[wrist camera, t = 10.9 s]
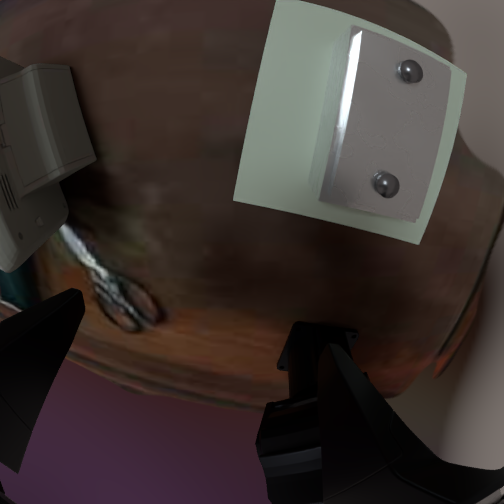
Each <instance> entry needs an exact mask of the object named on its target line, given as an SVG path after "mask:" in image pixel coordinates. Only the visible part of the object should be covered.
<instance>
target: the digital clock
mask: <svg viewBox="0 0 504 504" xmlns="http://www.w3.org/2000/svg"><path fill="white" fill-rule="evenodd" d="M94 154H95V153H94V150H93V147H92V144H91V141H90V138H89V135H88V132H87V129H86V126H85V123H84V119H83V116H82V113H81V109H80V106H79V102H78V99H77V95H76V91H75V87H74V83H73V79H72V75H71V71H70V66H68V65H57V64H33V65H30V66H28V67H26V68H24V67H22V66H20V65H18V64H16V63H14V62H11V61H9V60H7V59H5V58H3V57H1V56H0V269H1V270H3V271H5V272H7V273H10V272H13V271H14V270H15V269H17V268H18V267H19V266H20V265H21V264H22V263H23V262H25V261H26V260H27V259H28V257H30V256H31V255H32V254H33V253H34V252H35V251H36V250H37V249H38V248H39V247H40V246H41V245H42V244H43V243H44V242H45V241H46V240H47V239H48V238H49V237H50V236H52V235H53V234H54V233H55V232H56V231H57V230H58V229H59V228H60V227H61V226H62V225H63V224H64V223H65V221H66V219H67V217H68V213H69V209H68V205H67V202H66V200H65V197H64V195H63V192H62V190H61V187H60V184H59V182H60V181H61V180H63V179H65V178H66V177H68V176H70V175H71V174H73V173H75V172H77V171H78V170H80V169H82V168H84V167H85V166H87V165H89V164H91V163H93V162H95V161H96V160H97V159H96V156H95V155H94Z"/></svg>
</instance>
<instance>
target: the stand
mask: <svg viewBox="0 0 504 504" xmlns="http://www.w3.org/2000/svg"><path fill="white" fill-rule="evenodd" d="M351 24H352V25H356V26H359V27H362V28H365V29H368V30H371V31H373V32H376V33H379V34H381V35H384V36H387V37H389V38H392V39H394V40H396V41H399V42H401V43H403V44H406V45H408V46H410V47H412V48H414V49H417V50H419V51H421V52H423V53H425V54H427V55H429V56H431V57H433V58H434V59H436V60H438V61H440V62H442V63H444V64H446V65H447V66H449V67H450V70H451V71H452V72H451V82H450V90H449V97H448V104H447V110H446V116H445V121H444V126H443V132H442V136H441V141H440V146H439V150H438V154H437V158H436V162H435V166H434V170H433V174H432V177H431V181H430V184H429V188H428V191H427V194H426V198H425V201H424V204H423V207H422V210H421V213H420V216H419V219H416V222H415V223H412V222H408V221H404V220H401V219H397V218H393V217H389V216H384V215H380V214H376V213H372V212H368V211H363V210H359V209H354V208H350V207H345V206H341V205H336V204H331V203H326V202H321V201H318V200H317V198H316V196H315V194H314V192H313V191H312V189H311V187H310V185H309V184H308V177H309V173H310V168H311V163H312V159H313V154H314V149H315V144H316V139H317V134H318V129H319V124H320V118H321V113H322V108H323V102H324V97H325V91H326V86H327V80H328V74H329V68H330V62H331V56H332V50H333V43H334V41H335V40H336V39H337V38H338V37H339V36H340V35H341V34H342V33H343V32H344V31H345V30H346V29H347V28H348V27H349V26H350V25H351ZM466 76H467V74H466V73H465V72H463V71H462V70H461V69H459V68H458V67H456V66H454V65H453V64H451V63H450V62H448V61H447V60H445V59H443V58H442V57H440V56H438V55H437V54H435V53H433V52H431V51H430V50H428V49H426V48H424V47H422V46H421V45H419V44H417V43H415V42H413V41H411V40H409V39H407V38H405V37H403V36H401V35H399V34H396V33H394V32H392V31H390V30H388V29H385V28H383V27H381V26H378V25H376V24H373V23H371V22H368V21H366V20H363V19H360V18H357V17H355V16H352V15H349V14H346V13H343V12H340V11H337V10H333V9H330V8H327V7H323V6H319V5H316V4H312V3H308V2H304V1H299V0H276V3H275V7H274V11H273V15H272V19H271V24H270V28H269V32H268V36H267V40H266V45H265V49H264V53H263V57H262V62H261V66H260V71H259V75H258V80H257V84H256V89H255V93H254V98H253V103H252V107H251V112H250V117H249V122H248V126H247V131H246V136H245V141H244V146H243V151H242V156H241V161H240V166H239V172H238V177H237V182H236V187H235V193H234V198H233V201H238V202H243V203H248V204H253V205H258V206H263V207H268V208H272V209H277V210H282V211H286V212H291V213H295V214H300V215H304V216H308V217H313V218H317V219H321V220H326V221H330V222H334V223H338V224H342V225H346V226H350V227H354V228H358V229H362V230H366V231H370V232H374V233H377V234H381V235H385V236H389V237H392V238H396V239H400V240H403V241H407V242H410V243H414V244H417V245H419V243H420V241H421V238H422V236H423V234H424V231H425V229H426V226H427V224H428V221H429V218H430V216H431V213H432V211H433V208H434V205H435V202H436V200H437V197H438V194H439V191H440V188H441V185H442V182H443V179H444V176H445V172H446V169H447V166H448V162H449V159H450V155H451V151H452V148H453V144H454V140H455V136H456V132H457V127H458V123H459V118H460V113H461V108H462V103H463V97H464V91H465V84H466Z"/></svg>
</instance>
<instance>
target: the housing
mask: <svg viewBox="0 0 504 504" xmlns="http://www.w3.org/2000/svg"><path fill="white" fill-rule="evenodd" d="M451 72H452V71H451V70H450V67H449V66H447V65H446V64H444V63H442V62H440V61H438V60H436V59H434V58H433V57H431V56H429V55H427V54H425V53H423V52H421V51H419V50H417V49H414V48H412V47H410V46H408V45H406V44H403V43H401V42H399V41H396V40H394V39H392V38H389V37H387V36H384V35H381V34H379V33H376V32H373V31H371V30H368V29H365V28H362V27H359V26H356V25H352V24H351V25H350V26H349V27H348V28H347V29H346V30H345V31H344V32H343V33H342V34H341V35H340V36H339V37H338V38H337V39H336V40H335V41H334V43H333V50H332V56H331V62H330V68H329V74H328V80H327V86H326V91H325V97H324V102H323V108H322V113H321V118H320V124H319V129H318V134H317V139H316V144H315V149H314V154H313V159H312V163H311V168H310V173H309V177H308V184H309V185H310V187H311V189H312V191H313V192H314V194H315V196H316V198H317V200H318V201H321V202H326V203H331V204H336V205H341V206H345V207H350V208H354V209H359V210H363V211H368V212H372V213H376V214H380V215H384V216H389V217H393V218H397V219H401V220H404V221H408V222H412V223H415V222H416V219H419V216H420V213H421V210H422V207H423V204H424V201H425V198H426V194H427V191H428V188H429V184H430V181H431V177H432V174H433V170H434V166H435V162H436V158H437V154H438V150H439V146H440V141H441V136H442V132H443V126H444V121H445V116H446V110H447V104H448V97H449V90H450V82H451Z"/></svg>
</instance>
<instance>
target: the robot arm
mask: <svg viewBox="0 0 504 504" xmlns="http://www.w3.org/2000/svg"><path fill="white" fill-rule="evenodd" d="M84 313H85V304H84V299H83V294H82V292H81V291H80V290H78V289H75V288H70V289H68V290H66V291H64V292H62V293H59V294H57V295H55V296H53V297H51V298H49V299H46V300H44V301H42V302H40V303H38V304H36V305H34V306H32V307H30V308H27V309H25V310H23V311H21V312H19V313H17V314H15V315H13V316H11V317H9V318H7V319H5V320H3V321H1V323H0V462H1V463H3V464H4V465H5V466H7V467H8V468H10V469H11V470H13V471H14V472H16V473H17V474H18V472H19V470H20V467H21V463H22V460H23V457H24V454H25V451H26V447H27V445H28V442H29V439H30V437H31V434H32V431H33V428H34V425H35V423H36V420H37V418H38V415H39V413H40V410H41V408H42V406H43V403H44V401H45V399H46V396H47V394H48V392H49V390H50V387H51V385H52V383H53V381H54V379H55V377H56V375H57V373H58V370H59V368H60V366H61V364H62V362H63V360H64V358H65V356H66V354H67V352H68V351H69V348H70V346H71V344H72V342H73V340H74V337H75V335H76V332H77V330H78V327H79V325H80V323H81V320H82V318H83V316H84ZM297 327H300V328H297ZM352 335H353V336H352ZM358 337H359V333H358V331H357V330H352V329H344V328H336V327H329V326H322V325H315V324H308V323H301V322H297V323H295V324H293V326H292V329H291V331H290V334H289V336H288V339H287V341H286V343H285V346H284V348H283V351H282V353H281V356H280V358H279V360H278V363H277V369H278V370H282V371H288V375H289V399H285V400H281V401H277V402H269V403H267V404H266V408H265V411H264V414H263V418H262V421H261V425H260V428H259V431H258V434H257V439H256V443H255V444H256V447H257V453H258V457H259V460H260V462H261V465H262V467H263V470H264V473H265V477H266V484H267V492H268V499H269V500H270V501H271V502H272V504H504V494H503V495H501V492H500V488H502V487H503V486H504V467H502V468H501V469H498V470H485V469H479V468H473V467H468V466H462V465H457V464H452V463H448V462H446V461H443V460H442V459H440V458H439V457H437V456H436V455H435V454H434V453H433V452H432V451H431V450H430V449H429V448H428V447H427V446H426V445H425V444H424V443H423V442H422V441H421V440H420V439H419V438H418V437H417V436H416V435H415V434H414V433H413V432H412V431H411V430H410V429H409V428H408V427H407V426H406V424H405V423H404V422H403V421H402V420H401V419H400V417H399V416H398V415H397V414H396V412H395V411H393V409H392V408H391V406H390V405H389V404H388V403H387V402H386V400H385V399H384V398H383V397H382V396H381V394H380V393H379V392H378V391H377V389H376V388H375V387H374V386H373V385H372V383H371V382H370V380H369V377H368V374H367V372H365V373H362V371H361V370H360V369H359V368H358V367H357V365H356V364H355V363H354V362H353V358H352V355H351V349H352V347H353V346H354V344H355V342H356V341H357V339H358ZM0 504H16V503H15V502H14V501H12V500H11V499H9V498H8V497H7V496H6V495H5V492H4V490H3V487H2V484H1V481H0Z"/></svg>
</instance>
